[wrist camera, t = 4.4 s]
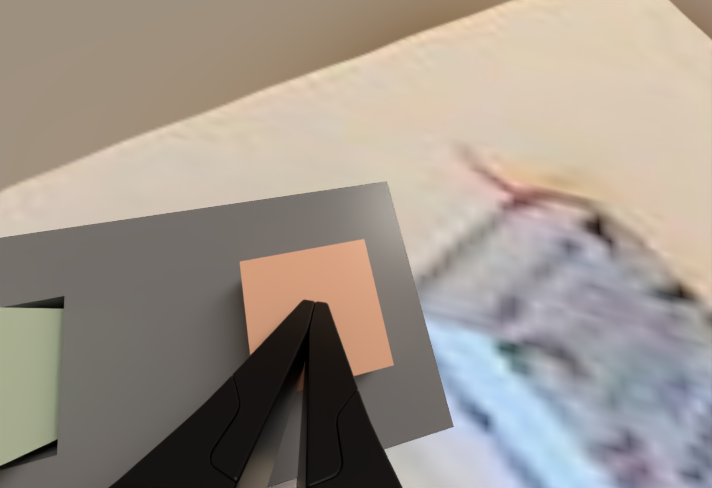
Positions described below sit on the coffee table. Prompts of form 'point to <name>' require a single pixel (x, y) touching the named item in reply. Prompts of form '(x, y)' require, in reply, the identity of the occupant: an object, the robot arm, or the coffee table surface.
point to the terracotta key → (319, 298)
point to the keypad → (199, 325)
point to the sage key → (29, 379)
